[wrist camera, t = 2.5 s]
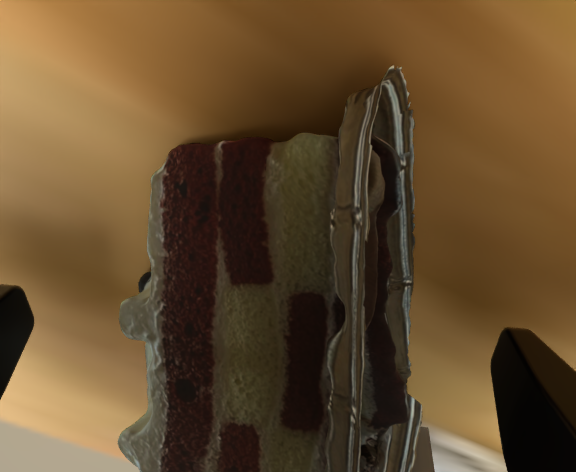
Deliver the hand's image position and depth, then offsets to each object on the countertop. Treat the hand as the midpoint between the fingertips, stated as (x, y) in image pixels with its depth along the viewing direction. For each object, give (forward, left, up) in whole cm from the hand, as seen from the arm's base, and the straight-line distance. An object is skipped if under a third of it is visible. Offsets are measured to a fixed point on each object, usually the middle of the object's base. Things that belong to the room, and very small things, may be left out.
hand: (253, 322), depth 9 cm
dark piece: (0, -2, -6) cm, 6 cm away
